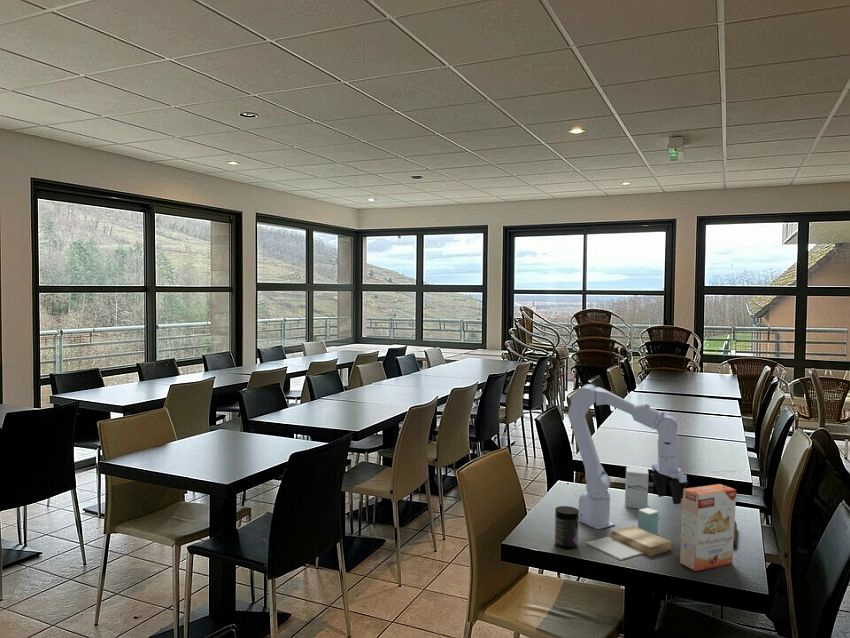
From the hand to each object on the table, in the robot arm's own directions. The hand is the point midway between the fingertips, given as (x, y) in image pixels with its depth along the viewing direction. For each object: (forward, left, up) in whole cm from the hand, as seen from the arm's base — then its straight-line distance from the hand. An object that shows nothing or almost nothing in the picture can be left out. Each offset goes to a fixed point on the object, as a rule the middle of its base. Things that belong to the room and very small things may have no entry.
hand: (669, 499), depth 191 cm
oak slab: (+1, -13, -11) cm, 17 cm away
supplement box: (-23, +13, -11) cm, 29 cm away
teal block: (-4, -4, -11) cm, 12 cm away
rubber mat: (-1, -22, -11) cm, 25 cm away
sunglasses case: (+8, +14, -12) cm, 20 cm away
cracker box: (+19, -8, -11) cm, 23 cm away
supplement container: (-9, -33, -11) cm, 36 cm away
